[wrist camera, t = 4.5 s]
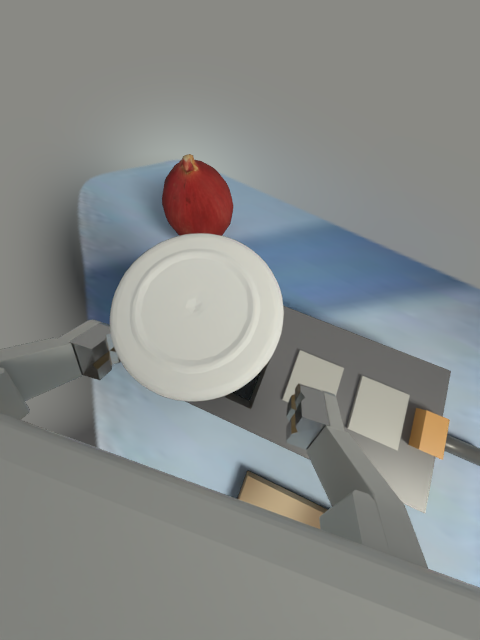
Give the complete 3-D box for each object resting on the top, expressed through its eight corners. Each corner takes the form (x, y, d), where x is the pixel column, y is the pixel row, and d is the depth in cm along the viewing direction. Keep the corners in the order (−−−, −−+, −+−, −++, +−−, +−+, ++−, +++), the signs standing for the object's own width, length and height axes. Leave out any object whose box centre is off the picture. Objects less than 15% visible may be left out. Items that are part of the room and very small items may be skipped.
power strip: (490, 402, 17) (573, 414, 12) (474, 522, 15) (565, 583, 11) (201, 287, 19) (189, 265, 15) (156, 376, 18) (130, 379, 13)
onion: (167, 243, 21) (121, 167, 13) (198, 202, 22) (173, 110, 14) (215, 269, 20) (196, 206, 12) (244, 226, 21) (245, 142, 13)
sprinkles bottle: (264, 363, 18) (322, 351, 5) (216, 386, 17) (133, 444, 4) (242, 317, 19) (239, 201, 6) (196, 338, 18) (79, 265, 5)
